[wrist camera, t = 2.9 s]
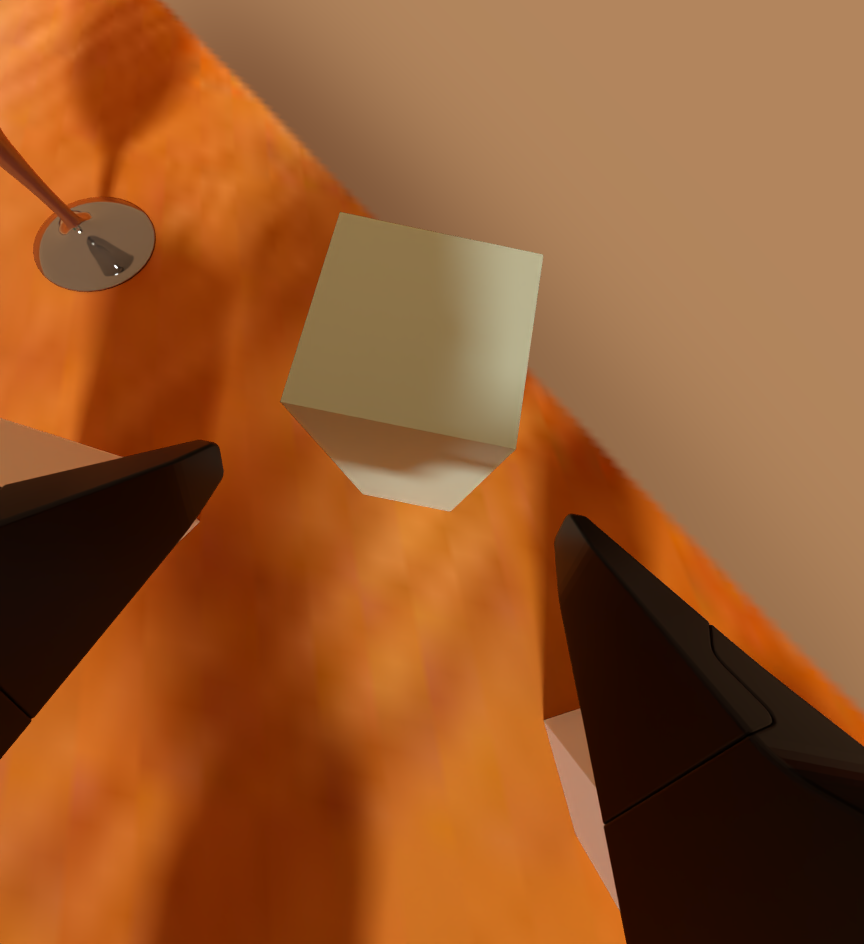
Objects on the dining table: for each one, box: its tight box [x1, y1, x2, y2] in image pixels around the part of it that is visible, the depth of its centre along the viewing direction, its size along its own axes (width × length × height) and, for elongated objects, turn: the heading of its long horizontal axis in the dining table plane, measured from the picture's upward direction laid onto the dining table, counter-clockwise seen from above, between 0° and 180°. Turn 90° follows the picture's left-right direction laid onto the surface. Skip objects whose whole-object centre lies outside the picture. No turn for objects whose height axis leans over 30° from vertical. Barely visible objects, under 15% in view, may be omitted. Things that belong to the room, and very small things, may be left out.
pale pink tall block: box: [544, 708, 620, 910], centre depth 11 cm, size 5×5×12 cm
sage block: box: [280, 212, 543, 511], centre depth 14 cm, size 5×5×12 cm
